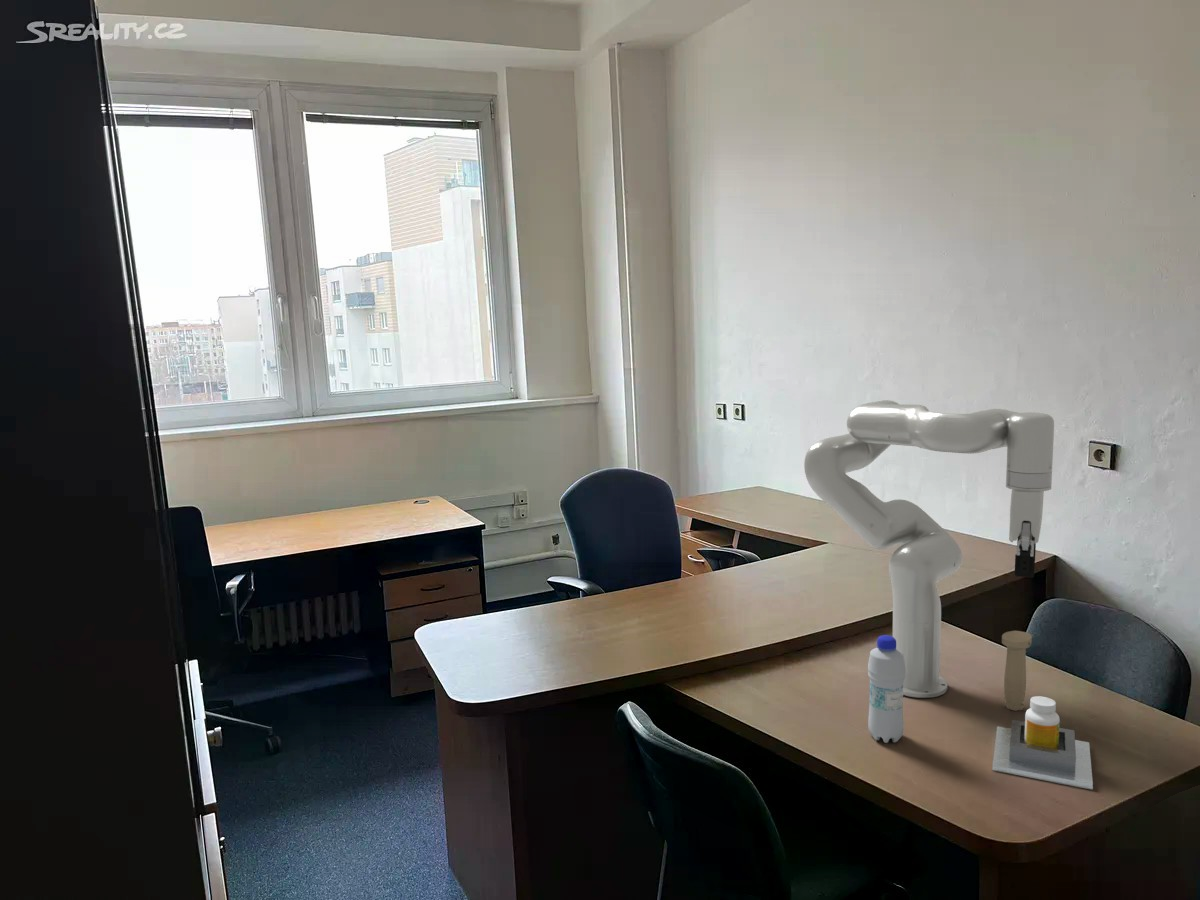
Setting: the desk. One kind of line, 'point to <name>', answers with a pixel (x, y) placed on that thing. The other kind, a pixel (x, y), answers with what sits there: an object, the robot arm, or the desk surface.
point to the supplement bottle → (1042, 723)
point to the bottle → (886, 690)
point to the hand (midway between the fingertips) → (1025, 569)
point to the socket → (1043, 757)
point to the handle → (1015, 668)
